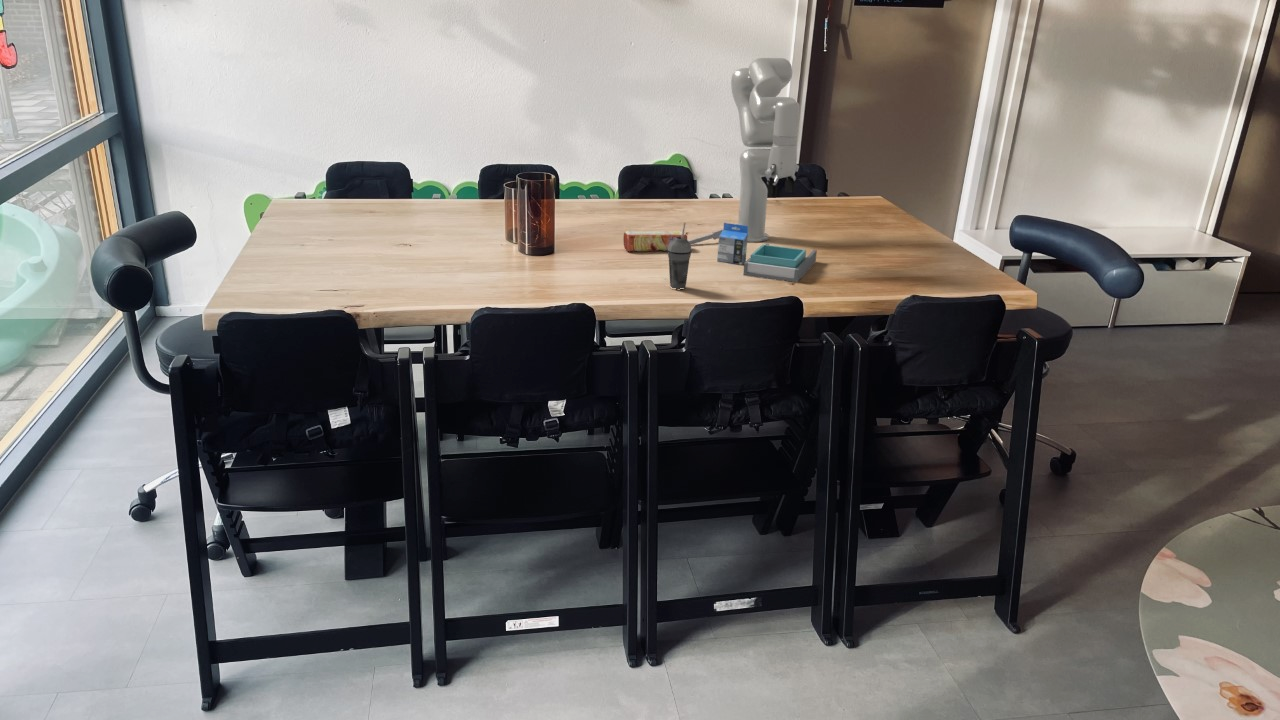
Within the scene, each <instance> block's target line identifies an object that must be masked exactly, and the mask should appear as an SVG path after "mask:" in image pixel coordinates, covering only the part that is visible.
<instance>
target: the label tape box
mask: <svg viewBox="0 0 1280 720" xmlns="http://www.w3.org/2000/svg"><path fill="white" fill-rule="evenodd" d="M737 224H738V223H728V222H723V229H724V230H723V231H722V233H721V234H720V236H719V239H718V246H717V247H718V249H717V257H716V259H717V260H716V261H717V262H723V263H729V264H735V265H741V266H742V265H744V263H745V262H746V261H747V249H748V247H747V246H748V241H747V238H748V226H744V225H737ZM732 227H734V228H735V227H737V228H739V229H740V230H735V229H732Z"/></svg>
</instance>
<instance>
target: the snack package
mask: <svg viewBox="0 0 1280 720" xmlns="http://www.w3.org/2000/svg"><path fill="white" fill-rule="evenodd" d="M682 231H683V230H675V231H674V230H672V231H670V230H668V231H667V230H666V231H665V230H664V231H663V230H657V231H655V230H653V231H652V230H651V231H646V230H644V231H639V230H638V231H631V230H630V231H629V230H628V231H624V232H623V248H624V250H625V249H626V250H625V251H626V252H627V251H637V252H658V251H657V250H668V246H669V243H670V242H671V241H672V240H673V239H674V238H676V237H682ZM683 238H685V239H687V240H688V235H687V233H686V232H684V236H683Z"/></svg>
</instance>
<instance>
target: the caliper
mask: <svg viewBox="0 0 1280 720" xmlns="http://www.w3.org/2000/svg"><path fill="white" fill-rule="evenodd" d="M723 230H724V228H721V229H718V230H714V231H712V232H711V233H708V234H705V235H703V236H699V237H695V238H692V239H687V240H688V241H689V243H690V245H691V244H692V245H694V244H697V243H700V242H704V241H708V240H711V239H713V240H719V236H720V234H721V233H722V231H723ZM692 245H691V246H692Z"/></svg>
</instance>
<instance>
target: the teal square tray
mask: <svg viewBox="0 0 1280 720" xmlns="http://www.w3.org/2000/svg"><path fill="white" fill-rule="evenodd" d="M750 257H751V259H750V262H751V263H759V264H766V265H774V266H781V267H789V268H797V267H798V266H799V265H800V264H801V263H802V262H803V261H804V260H805V258H806V257H807V249H802V248H793V247H785V246H778V245H770V244H769V245H765V244H762V245H760V246H759V247H758V248H757V249H756V250H754V251H753V252H752V253H751V254H750Z"/></svg>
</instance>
